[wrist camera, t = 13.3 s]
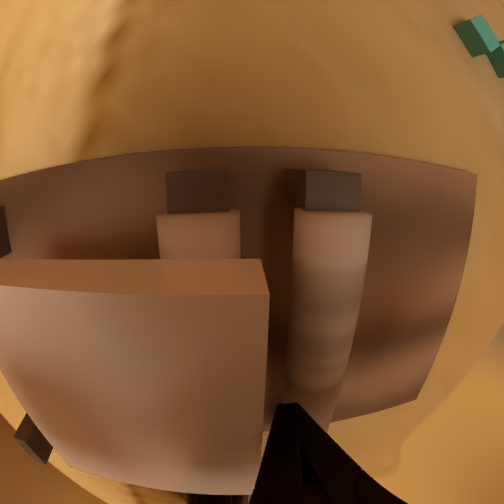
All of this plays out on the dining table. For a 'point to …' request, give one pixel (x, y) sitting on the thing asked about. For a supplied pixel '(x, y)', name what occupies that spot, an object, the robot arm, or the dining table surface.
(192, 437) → the slab
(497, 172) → the dining table surface
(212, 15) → the dining table surface
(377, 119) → the dining table surface
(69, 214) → the roller bed
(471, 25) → the alien figure
